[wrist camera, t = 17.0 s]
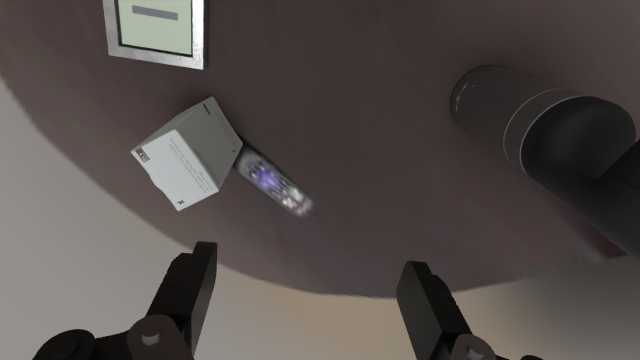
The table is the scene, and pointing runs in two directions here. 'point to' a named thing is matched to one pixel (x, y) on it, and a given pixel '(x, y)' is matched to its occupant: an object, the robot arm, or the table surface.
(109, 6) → the grey square slotted tray
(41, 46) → the table surface
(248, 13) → the table surface
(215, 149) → the skincare box
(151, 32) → the plate
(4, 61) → the table surface
